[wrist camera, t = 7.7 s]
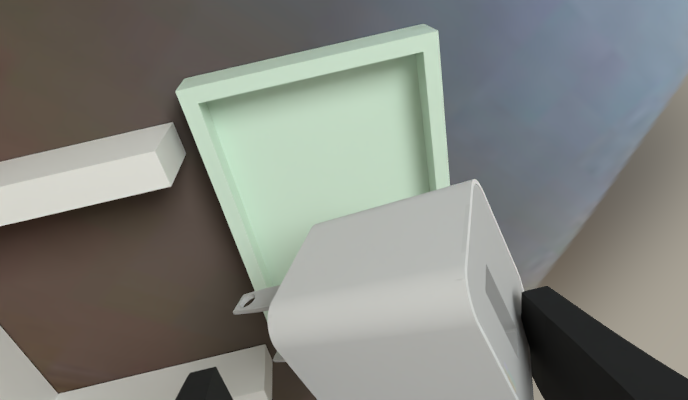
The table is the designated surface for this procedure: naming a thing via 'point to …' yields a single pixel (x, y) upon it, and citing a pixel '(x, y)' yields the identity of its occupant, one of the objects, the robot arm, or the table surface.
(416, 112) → the tray
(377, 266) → the usb wall charger
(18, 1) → the table surface
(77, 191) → the bay
